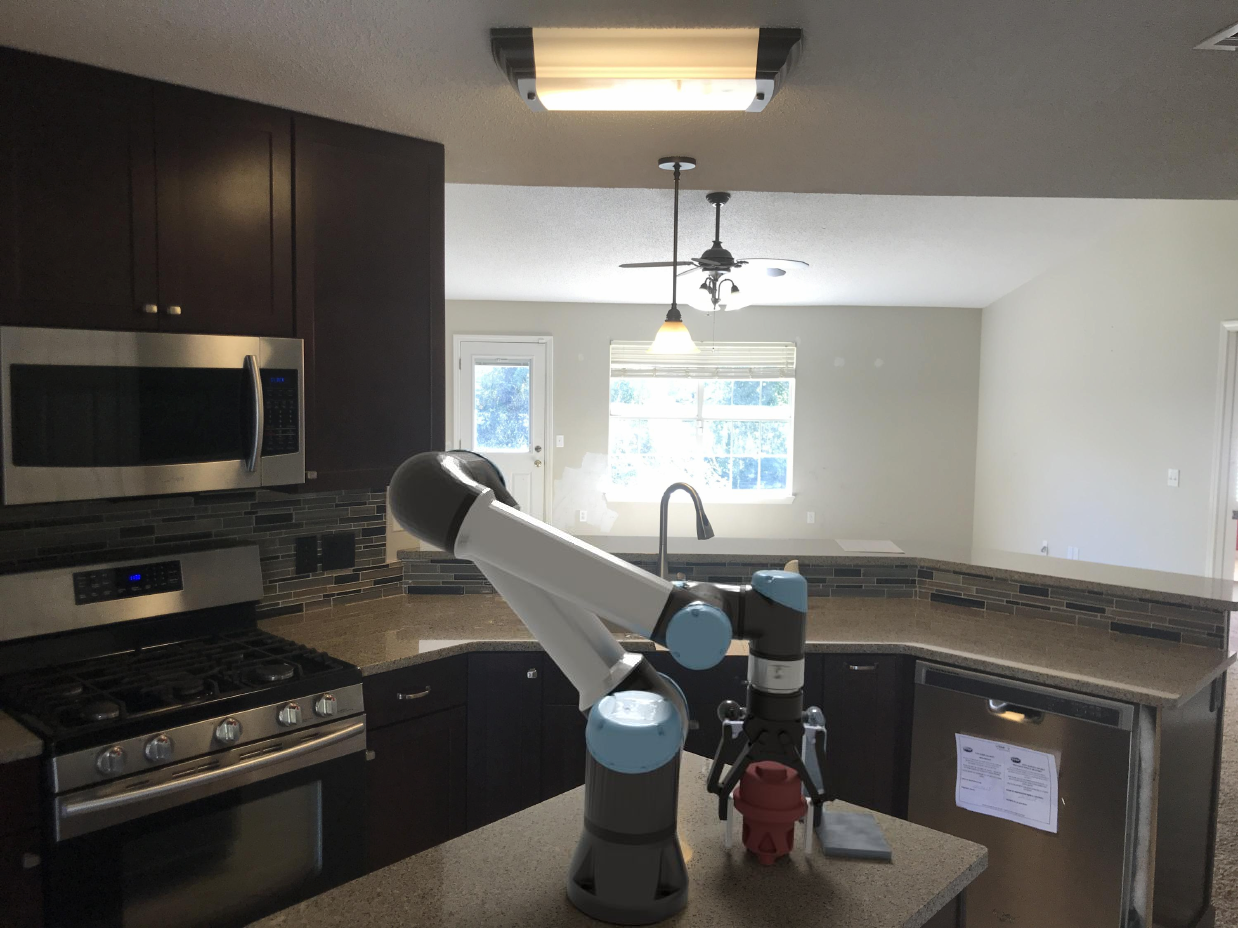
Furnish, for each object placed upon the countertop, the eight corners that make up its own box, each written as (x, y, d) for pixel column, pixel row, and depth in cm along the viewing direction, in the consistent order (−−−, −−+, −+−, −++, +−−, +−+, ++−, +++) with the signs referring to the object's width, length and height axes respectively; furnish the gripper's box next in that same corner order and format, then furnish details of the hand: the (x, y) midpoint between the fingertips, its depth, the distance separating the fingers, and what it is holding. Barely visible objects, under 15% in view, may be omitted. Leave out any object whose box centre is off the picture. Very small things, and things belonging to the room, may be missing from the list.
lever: (717, 726, 127) (718, 703, 127) (716, 718, 131) (717, 696, 131) (824, 733, 126) (826, 710, 126) (820, 725, 130) (821, 702, 130)
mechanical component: (803, 842, 119) (804, 878, 110) (732, 832, 121) (727, 867, 112) (807, 756, 119) (809, 785, 109) (736, 748, 121) (732, 775, 111)
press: (808, 853, 116) (813, 757, 116) (793, 807, 131) (798, 721, 130) (891, 860, 115) (896, 763, 115) (867, 812, 130) (871, 726, 130)
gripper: (692, 688, 112) (685, 852, 113) (865, 699, 110) (856, 865, 111) (691, 672, 119) (684, 826, 120) (853, 682, 118) (845, 838, 118)
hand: (767, 845), depth 115 cm, fingers closed on mechanical component, 10 cm apart
